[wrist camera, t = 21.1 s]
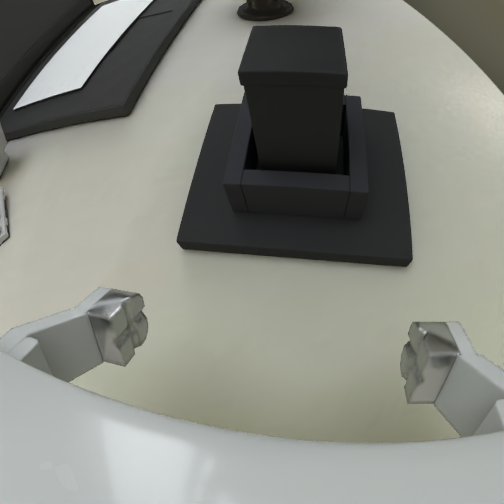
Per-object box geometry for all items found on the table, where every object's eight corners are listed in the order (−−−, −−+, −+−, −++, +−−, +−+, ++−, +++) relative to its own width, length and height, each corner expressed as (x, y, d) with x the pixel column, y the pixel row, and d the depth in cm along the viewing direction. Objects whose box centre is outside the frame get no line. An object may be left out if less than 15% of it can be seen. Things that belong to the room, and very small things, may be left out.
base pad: (391, 122, 22) (401, 82, 18) (407, 267, 18) (431, 237, 14) (218, 114, 25) (206, 75, 21) (182, 249, 20) (156, 218, 16)
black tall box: (334, 141, 20) (341, 26, 12) (334, 195, 19) (348, 74, 11) (270, 138, 21) (252, 25, 13) (262, 190, 20) (237, 72, 11)
